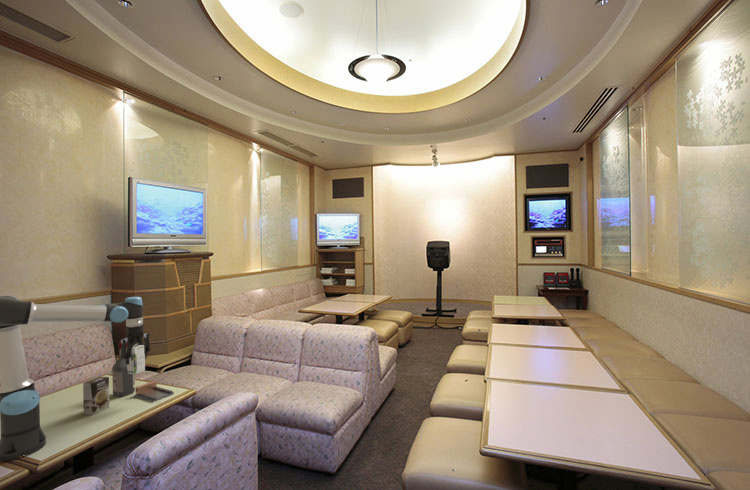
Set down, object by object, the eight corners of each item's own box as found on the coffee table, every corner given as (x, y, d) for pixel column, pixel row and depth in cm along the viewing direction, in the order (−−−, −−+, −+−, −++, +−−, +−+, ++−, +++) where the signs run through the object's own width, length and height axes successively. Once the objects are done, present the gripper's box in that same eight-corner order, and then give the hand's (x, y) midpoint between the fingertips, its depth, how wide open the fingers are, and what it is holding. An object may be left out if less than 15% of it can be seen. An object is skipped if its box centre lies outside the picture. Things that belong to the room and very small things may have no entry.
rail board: (152, 402, 190) (152, 393, 190) (133, 396, 198) (133, 387, 198) (174, 393, 200) (173, 385, 200) (155, 388, 209) (155, 380, 209)
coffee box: (93, 415, 177) (92, 383, 177) (83, 414, 178) (82, 382, 178) (110, 406, 186) (109, 376, 186) (100, 406, 187) (99, 376, 187)
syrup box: (127, 373, 187) (126, 347, 187) (137, 369, 193) (136, 343, 192) (135, 374, 185) (134, 347, 185) (145, 370, 191) (144, 344, 191)
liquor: (119, 398, 196) (117, 345, 196) (111, 395, 201) (110, 343, 201) (136, 392, 204) (135, 341, 204) (128, 389, 209) (127, 339, 209)
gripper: (118, 330, 178) (120, 375, 179) (156, 322, 195) (158, 363, 196) (111, 329, 182) (112, 373, 182) (149, 321, 199) (150, 361, 199)
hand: (136, 367), depth 189 cm, fingers closed on syrup box, 6 cm apart
